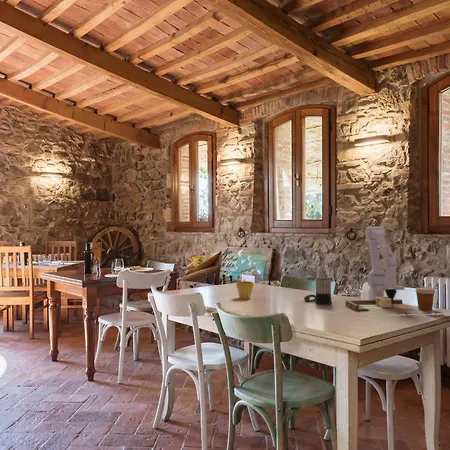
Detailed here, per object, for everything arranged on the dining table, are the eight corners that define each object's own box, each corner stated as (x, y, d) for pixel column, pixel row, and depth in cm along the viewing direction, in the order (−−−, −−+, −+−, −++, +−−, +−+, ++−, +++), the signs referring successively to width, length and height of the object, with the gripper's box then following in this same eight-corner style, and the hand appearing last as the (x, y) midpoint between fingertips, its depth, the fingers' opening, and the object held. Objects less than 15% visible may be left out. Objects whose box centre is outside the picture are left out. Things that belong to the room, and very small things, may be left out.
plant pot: (253, 296, 285) (253, 281, 285) (253, 299, 275) (252, 283, 275) (237, 296, 286) (237, 281, 286) (236, 299, 276) (236, 283, 276)
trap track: (345, 305, 251) (345, 300, 251) (401, 304, 253) (401, 299, 253) (356, 311, 235) (356, 305, 235) (414, 309, 238) (414, 304, 238)
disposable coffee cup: (423, 313, 227) (423, 290, 227) (411, 310, 237) (411, 287, 237) (439, 312, 230) (439, 289, 230) (426, 309, 239) (426, 286, 239)
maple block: (375, 305, 246) (375, 297, 246) (386, 304, 247) (386, 296, 247) (380, 307, 241) (380, 298, 241) (391, 306, 241) (391, 298, 241)
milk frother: (331, 305, 254) (331, 278, 254) (303, 304, 257) (303, 278, 257) (331, 301, 268) (331, 276, 268) (304, 300, 271) (304, 275, 271)
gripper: (380, 279, 239) (381, 304, 239) (407, 278, 241) (407, 304, 241) (375, 277, 247) (375, 302, 247) (400, 277, 248) (401, 302, 248)
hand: (390, 303), depth 244 cm, fingers closed
